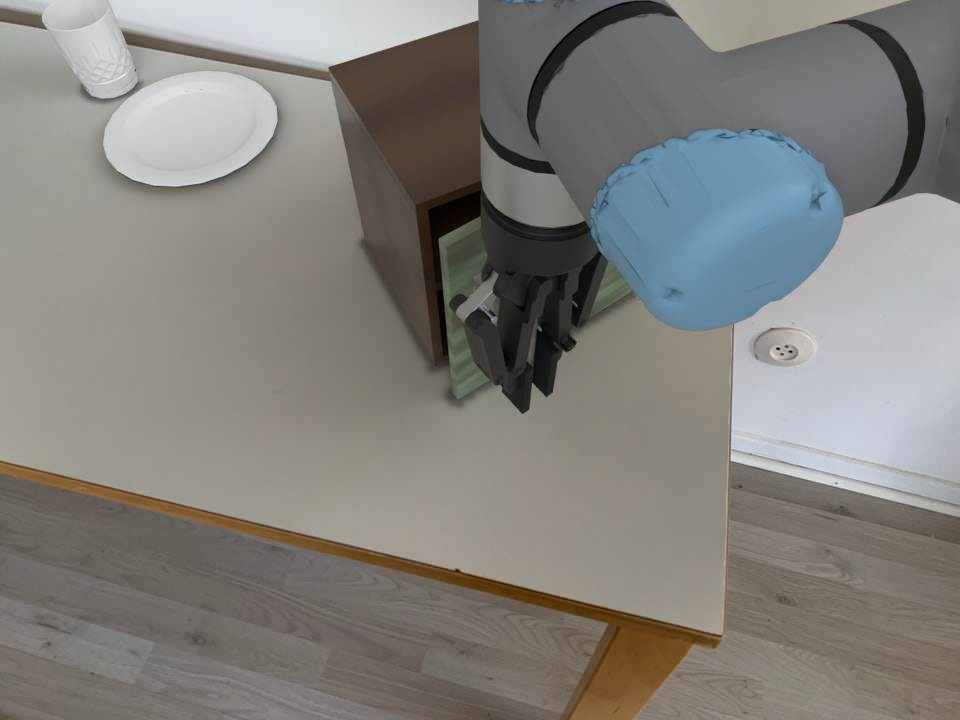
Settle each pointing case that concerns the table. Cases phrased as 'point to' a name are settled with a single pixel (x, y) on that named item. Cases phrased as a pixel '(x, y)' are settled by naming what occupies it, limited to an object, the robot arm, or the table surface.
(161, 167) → the plate
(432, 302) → the cupboard
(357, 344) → the table surface
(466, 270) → the cupboard door
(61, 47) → the white cup
